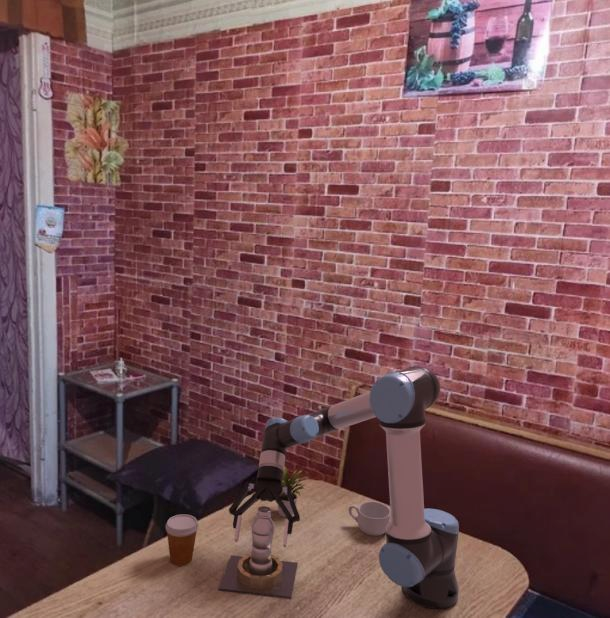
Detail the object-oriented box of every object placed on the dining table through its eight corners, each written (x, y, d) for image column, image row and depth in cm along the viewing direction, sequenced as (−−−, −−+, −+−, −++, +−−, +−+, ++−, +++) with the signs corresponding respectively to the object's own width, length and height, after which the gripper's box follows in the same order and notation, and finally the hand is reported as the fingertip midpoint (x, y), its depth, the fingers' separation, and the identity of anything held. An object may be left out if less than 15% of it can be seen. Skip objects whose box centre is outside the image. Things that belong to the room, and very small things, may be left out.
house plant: (294, 530, 194) (297, 483, 192) (258, 518, 200) (260, 473, 197) (313, 511, 207) (315, 467, 204) (277, 501, 213) (280, 458, 210)
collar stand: (297, 564, 175) (298, 553, 175) (291, 598, 160) (292, 586, 159) (231, 557, 177) (231, 546, 176) (218, 590, 161) (218, 578, 161)
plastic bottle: (268, 583, 164) (273, 517, 161) (245, 579, 166) (249, 513, 162) (274, 570, 171) (279, 505, 167) (251, 565, 172) (256, 501, 168)
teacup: (394, 530, 198) (396, 507, 197) (380, 544, 189) (382, 520, 188) (357, 516, 205) (358, 495, 204) (341, 529, 196) (343, 507, 195)
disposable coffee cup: (185, 547, 181) (186, 510, 179) (204, 561, 174) (205, 523, 172) (158, 558, 174) (159, 520, 172) (175, 573, 168) (177, 534, 166)
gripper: (313, 477, 178) (305, 551, 166) (231, 469, 181) (217, 542, 168) (312, 468, 172) (304, 544, 160) (228, 460, 175) (213, 534, 162)
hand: (260, 543), depth 164 cm, fingers open, 13 cm apart
